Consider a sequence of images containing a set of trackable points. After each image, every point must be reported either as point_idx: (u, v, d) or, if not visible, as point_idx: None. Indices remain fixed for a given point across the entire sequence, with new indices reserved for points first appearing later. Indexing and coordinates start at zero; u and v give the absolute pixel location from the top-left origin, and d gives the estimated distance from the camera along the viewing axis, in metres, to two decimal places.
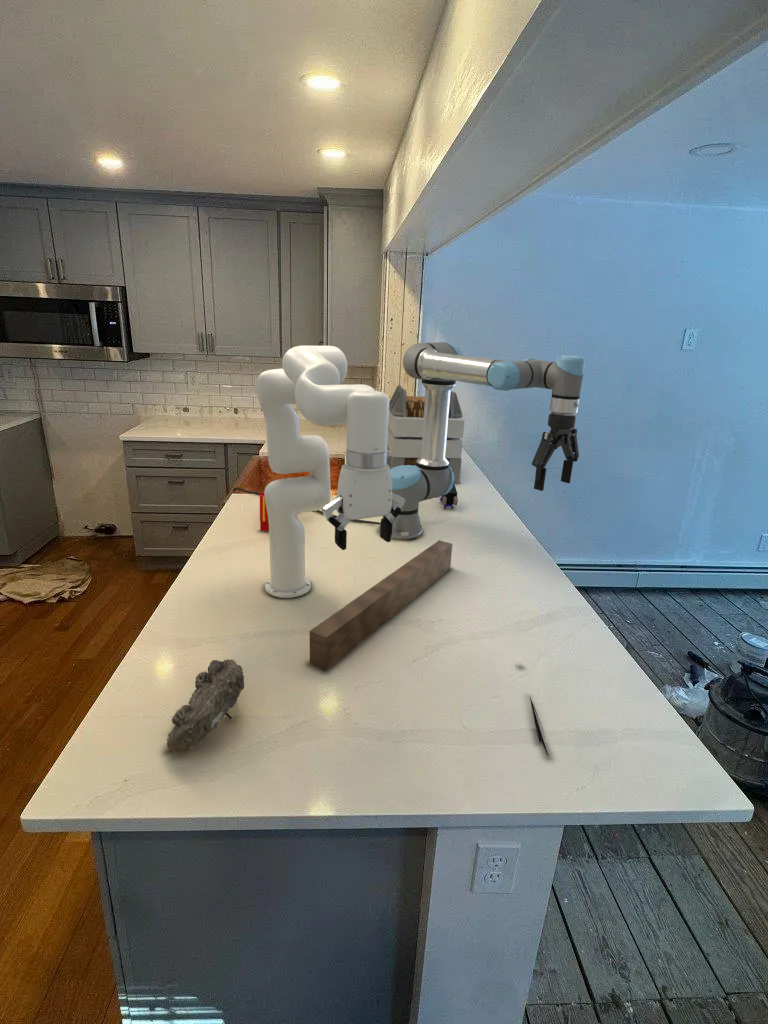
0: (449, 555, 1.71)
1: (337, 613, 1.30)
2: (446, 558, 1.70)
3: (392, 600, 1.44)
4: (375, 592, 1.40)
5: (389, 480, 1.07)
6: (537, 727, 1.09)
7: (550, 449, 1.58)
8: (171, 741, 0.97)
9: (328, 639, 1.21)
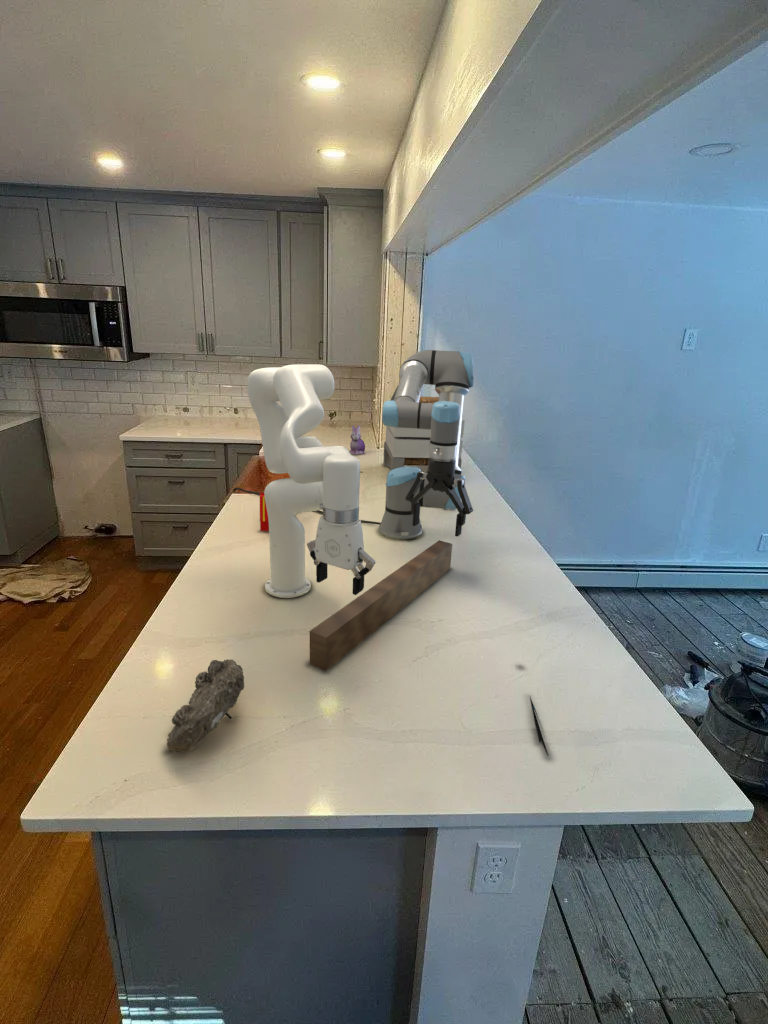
0: (449, 555, 1.71)
1: (337, 613, 1.30)
2: (446, 558, 1.70)
3: (392, 600, 1.44)
4: (375, 592, 1.40)
5: None
6: (537, 727, 1.09)
7: (423, 489, 1.62)
8: (171, 741, 0.97)
9: (328, 639, 1.21)
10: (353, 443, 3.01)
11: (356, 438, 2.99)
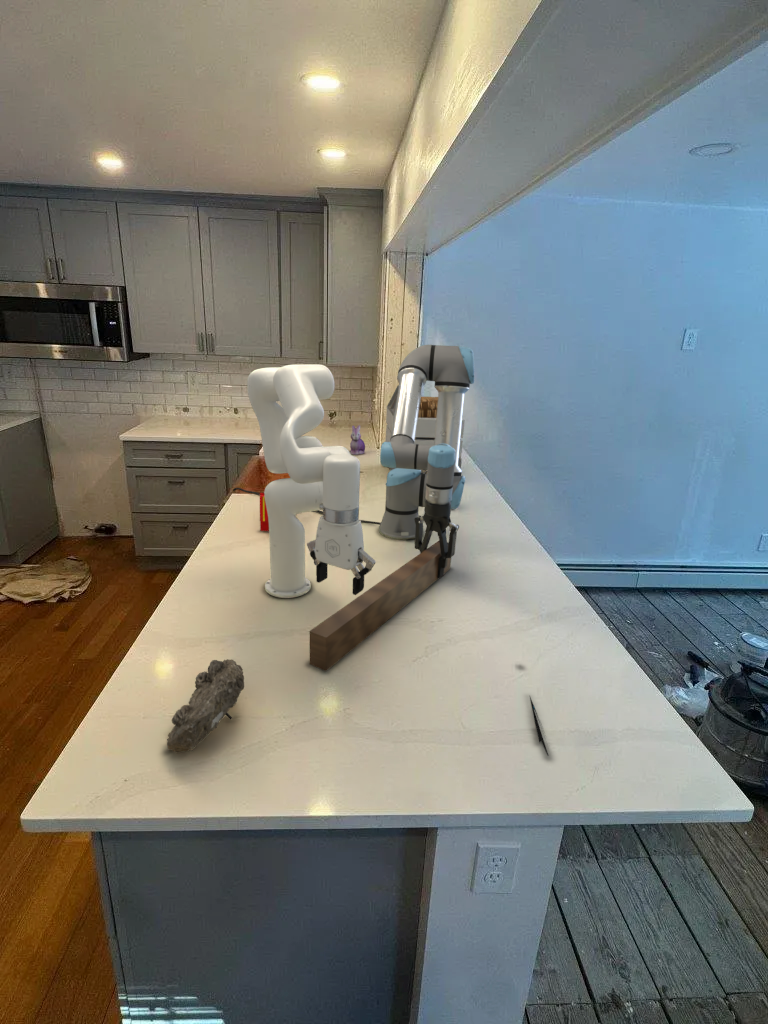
0: None
1: (337, 613, 1.30)
2: None
3: (392, 600, 1.44)
4: (375, 592, 1.40)
5: None
6: (537, 727, 1.09)
7: None
8: (171, 741, 0.97)
9: (328, 639, 1.21)
10: (353, 443, 3.01)
11: (356, 438, 2.99)
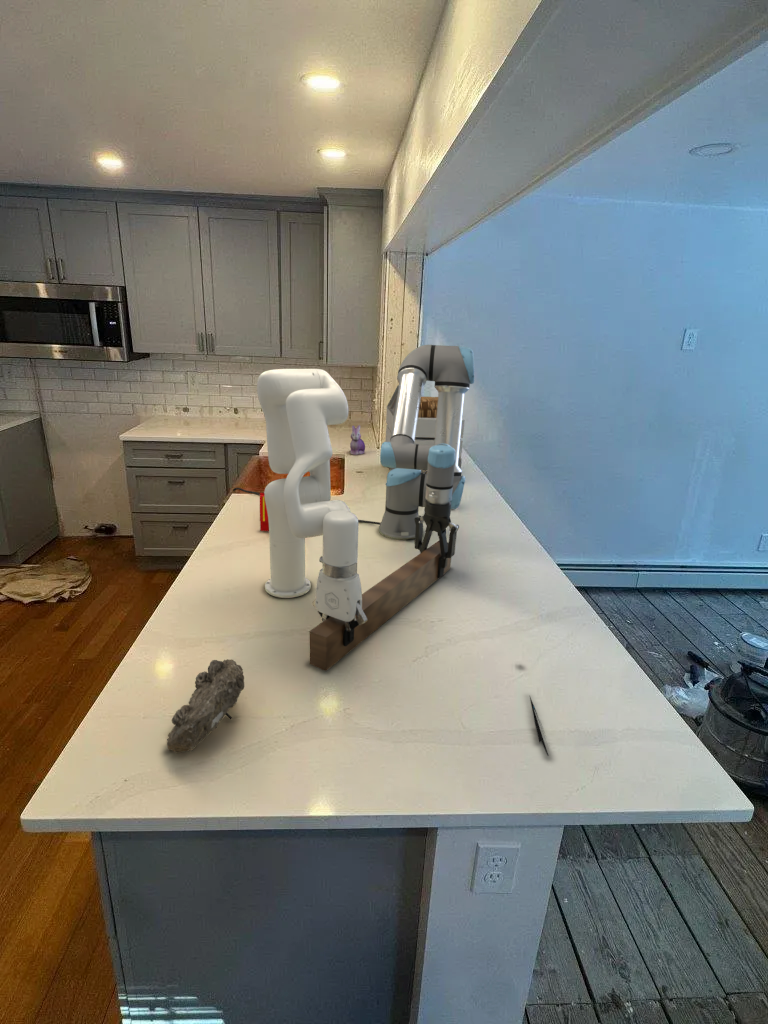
0: None
1: None
2: None
3: (392, 600, 1.44)
4: (375, 592, 1.40)
5: None
6: (537, 727, 1.09)
7: None
8: (171, 741, 0.97)
9: (328, 639, 1.21)
10: (353, 443, 3.01)
11: (356, 438, 2.99)
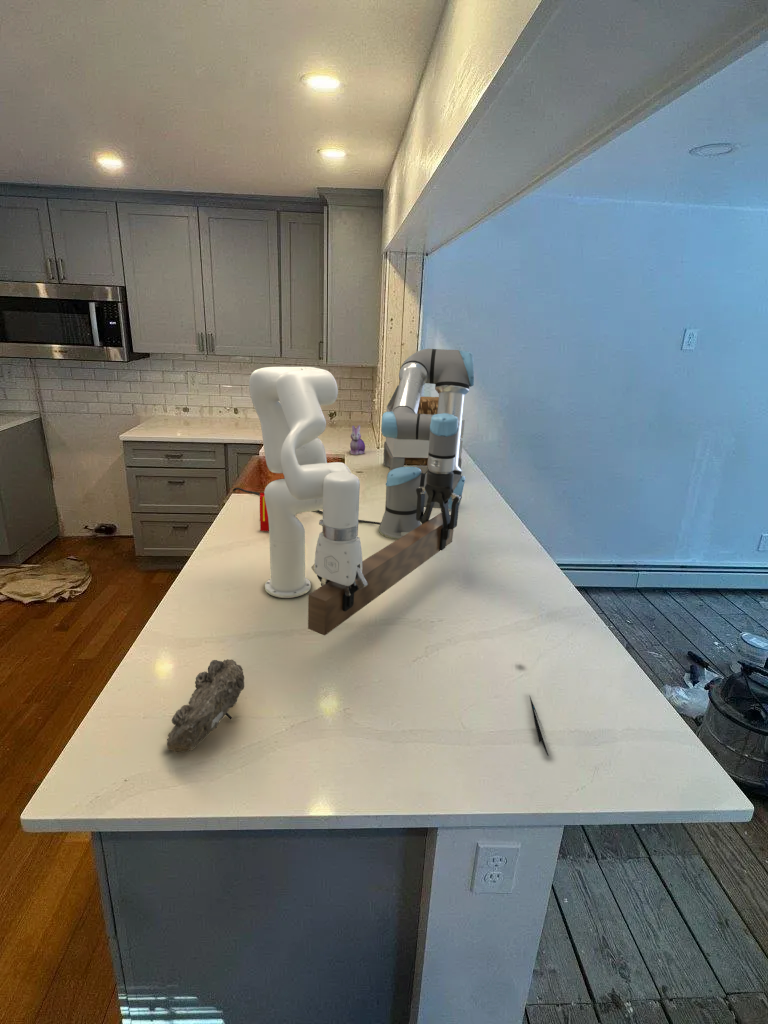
0: None
1: None
2: None
3: (393, 569, 1.42)
4: (376, 559, 1.38)
5: None
6: (537, 727, 1.09)
7: None
8: (171, 741, 0.97)
9: (327, 603, 1.19)
10: (353, 443, 3.01)
11: (356, 438, 2.99)
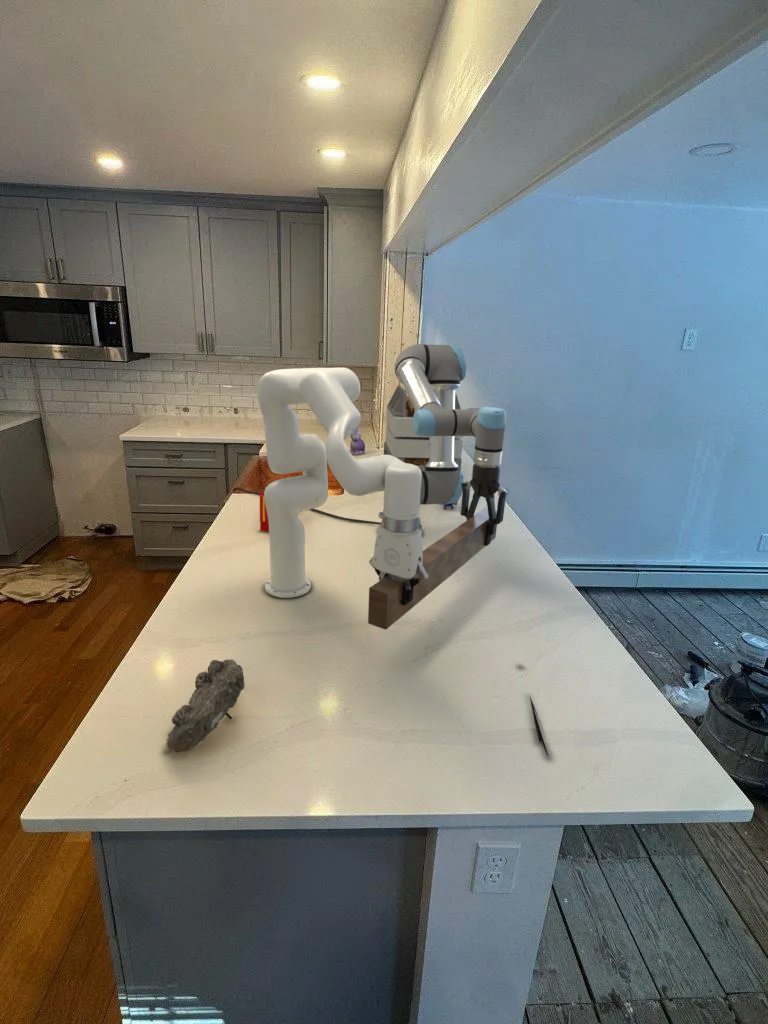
0: None
1: None
2: None
3: (445, 563, 1.40)
4: (429, 553, 1.36)
5: None
6: (537, 727, 1.09)
7: None
8: (171, 741, 0.97)
9: (389, 596, 1.17)
10: (353, 443, 3.01)
11: (356, 438, 2.99)
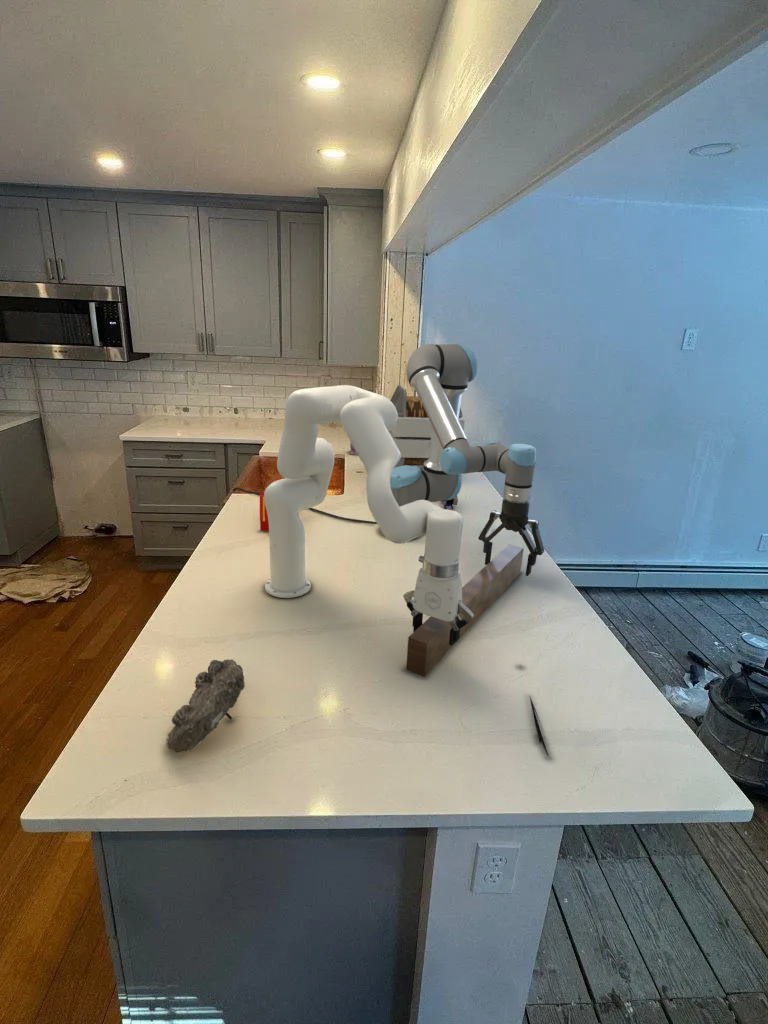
0: (520, 559, 1.71)
1: (430, 619, 1.29)
2: (518, 562, 1.69)
3: (477, 605, 1.44)
4: (462, 597, 1.40)
5: None
6: (537, 727, 1.09)
7: None
8: (171, 741, 0.97)
9: (428, 645, 1.21)
10: None
11: None
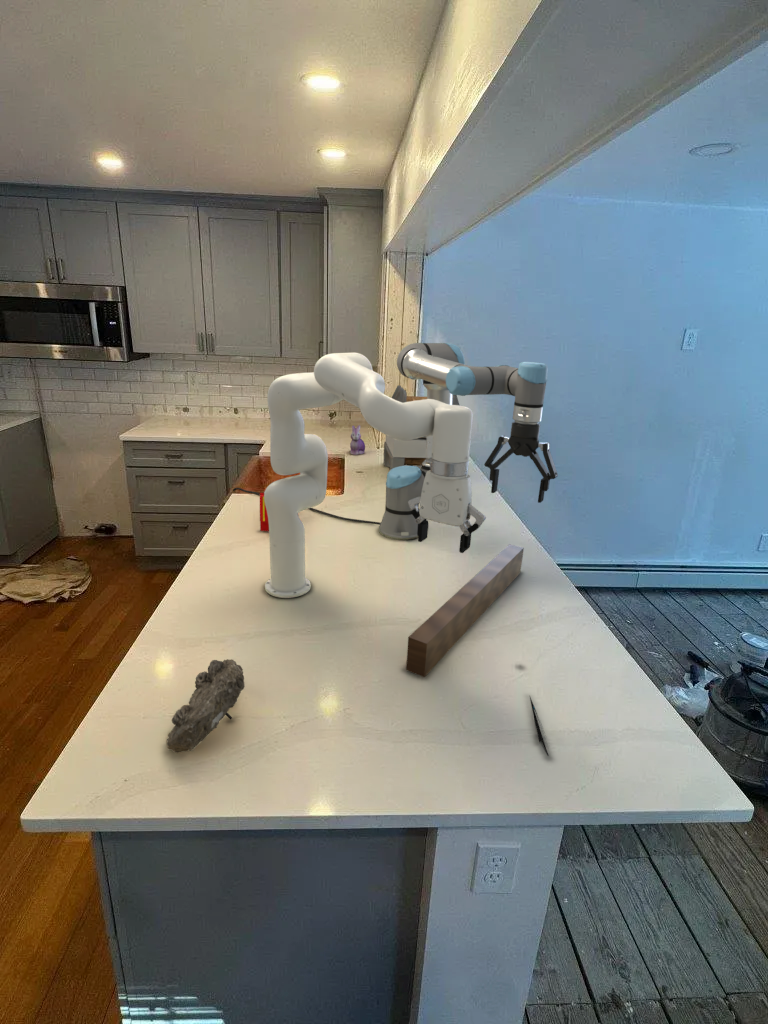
0: (520, 559, 1.71)
1: (430, 619, 1.29)
2: (518, 562, 1.69)
3: (477, 605, 1.44)
4: (462, 597, 1.40)
5: None
6: (537, 727, 1.09)
7: (504, 454, 1.58)
8: (171, 741, 0.97)
9: (428, 645, 1.21)
10: (353, 443, 3.01)
11: (356, 438, 2.99)
